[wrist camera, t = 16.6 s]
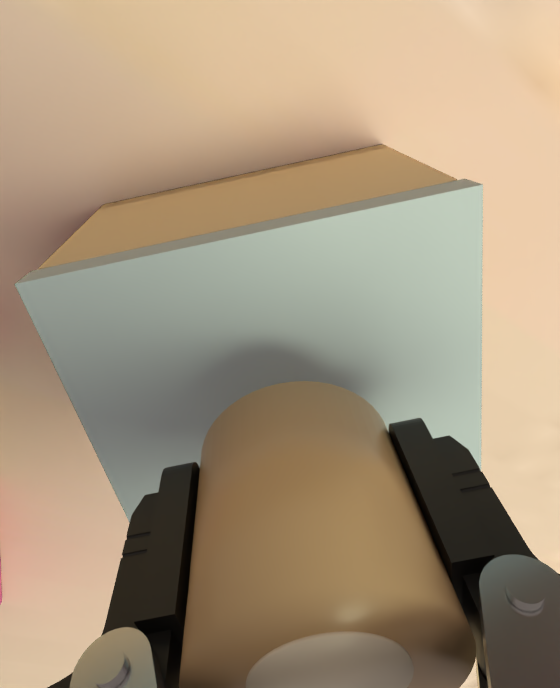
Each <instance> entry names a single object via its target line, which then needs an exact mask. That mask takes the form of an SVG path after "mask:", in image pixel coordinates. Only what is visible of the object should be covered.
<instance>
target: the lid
mask: <svg viewBox="0 0 560 688" xmlns="http://www.w3.org/2000/svg"><path fill="white" fill-rule="evenodd" d="M482 227H483V185H482V184H479V183H476V182H473V181H470V180H467V179H461V180H457V181H452V182H447V183H443V184H438V185H433V186H429V187H424V188H419V189H414V190H410V191H405V192H400V193H396V194H391V195H386V196H382V197H377V198H372V199H368V200H363V201H358V202H353V203H349V204H344V205H339V206H335V207H330V208H325V209H321V210H316V211H311V212H306V213H302V214H297V215H292V216H288V217H283V218H278V219H274V220H269V221H264V222H260V223H255V224H250V225H245V226H241V227H236V228H231V229H227V230H222V231H217V232H213V233H208V234H203V235H198V236H194V237H189V238H184V239H180V240H175V241H170V242H166V243H161V244H156V245H152V246H147V247H142V248H137V249H133V250H128V251H123V252H119V253H114V254H109V255H105V256H100V257H95V258H91V259H86V260H81V261H76V262H72V263H67V264H62V265H58V266H53V267H48V268H44V269H39V270H34V271H31V272H29V273H28V274H27V275H26V276H24V277H23V278H22V279H20V280H19V281H18V282H17V283H15V286H16V288H17V290H18V293H19V295H20V297H21V299H22V301H23V303H24V305H25V307H26V309H27V311H28V313H29V315H30V317H31V319H32V321H33V324H34V326H35V328H36V330H37V332H38V334H39V336H40V338H41V340H42V342H43V344H44V346H45V348H46V350H47V353H48V355H49V357H50V359H51V361H52V363H53V365H54V367H55V369H56V371H57V373H58V375H59V377H60V379H61V382H62V384H63V386H64V388H65V390H66V392H67V394H68V396H69V398H70V400H71V402H72V404H73V406H74V408H75V411H76V413H77V415H78V417H79V419H80V421H81V423H82V425H83V427H84V429H85V431H86V433H87V435H88V437H89V439H90V442H91V444H92V446H93V448H94V450H95V452H96V454H97V456H98V458H99V460H100V462H101V464H102V466H103V468H104V471H105V473H106V475H107V477H108V479H109V481H110V483H111V485H112V487H113V489H114V491H115V493H116V495H117V497H118V500H119V502H120V504H121V506H122V508H123V510H124V512H125V514H126V516H127V518H128V520H129V522H130V520H131V516H132V514H133V512H134V511H135V509H136V508H137V506H138V505H139V503H140V501H141V500H142V498H143V497H144V495H147V494H152V493H157V492H158V491H159V486H160V481H161V475H162V471H163V469H164V468H166V467H171V466H176V465H181V464H187V463H192V462H196V463H197V464H198V465H199V468H200V462H201V451H202V447H203V443H204V439H205V437H206V435H207V432H208V430H209V429H210V427H211V426H212V424H213V422H214V421H215V420H216V419H217V418H218V416H219V415H220V414H221V413H222V412H223V411H224V410H225V409H227V408H228V407H229V406H230V405H231V404H233V403H234V402H236V401H237V400H239V399H240V398H242V397H244V396H246V395H248V394H249V393H251V392H254V391H256V390H259V389H261V388H264V387H267V386H271V385H275V384H279V383H286V382H294V381H313V382H322V383H327V384H332V385H336V386H339V387H342V388H345V389H347V390H349V391H351V392H354V393H355V394H357V395H359V396H360V397H362V398H363V399H365V400H366V401H367V402H368V403H370V404H371V405H372V406H373V407H374V408H375V410H376V411H377V412H378V413H379V414H380V416H381V418H382V419H383V421H384V423H385V425H386V427H387V430H388V432H389V424H390V423H395V422H400V421H405V420H411V419H416V418H421V419H422V420H423V421H424V423H425V425H426V426H427V428H428V430H429V432H430V434H431V436H432V438H433V439H434V438H439V437H444V436H449V435H450V436H451V437H452V438H454V439H455V440H456V441H458V442H459V443H460V444H462V445H463V446H464V447H466V448H467V449H468V450H469V451H470V453H471V455H472V456H473V458H474V459H475V461H476V463H477V464H478V466H479V468H480V471H481V396H482Z"/></svg>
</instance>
